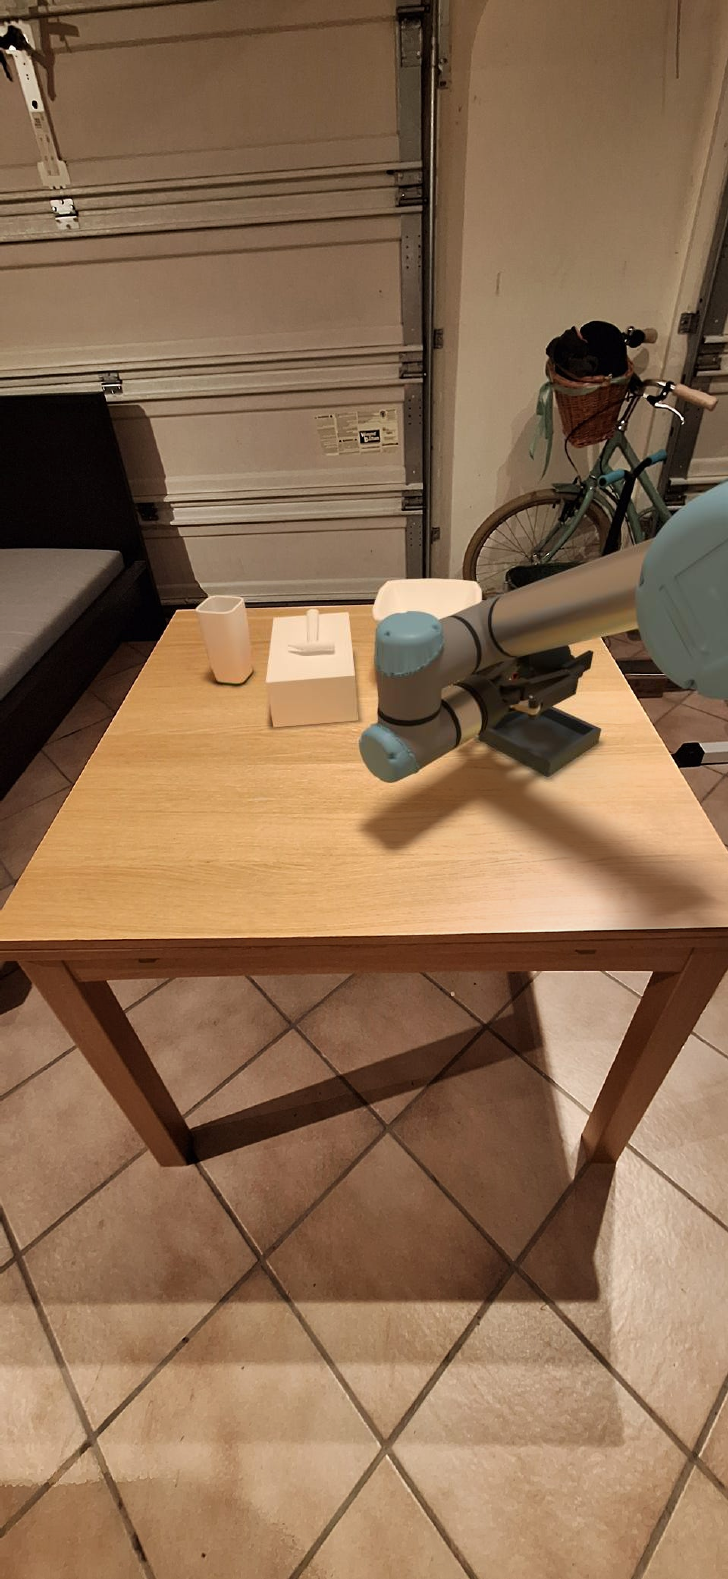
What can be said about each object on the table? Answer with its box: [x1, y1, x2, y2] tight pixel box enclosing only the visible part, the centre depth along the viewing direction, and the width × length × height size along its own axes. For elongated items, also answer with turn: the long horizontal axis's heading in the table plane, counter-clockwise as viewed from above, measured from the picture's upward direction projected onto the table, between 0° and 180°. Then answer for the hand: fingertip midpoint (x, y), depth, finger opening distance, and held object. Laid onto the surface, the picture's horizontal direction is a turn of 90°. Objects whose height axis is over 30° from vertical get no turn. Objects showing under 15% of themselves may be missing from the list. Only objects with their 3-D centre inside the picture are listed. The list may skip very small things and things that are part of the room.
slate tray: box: [478, 706, 602, 778], centre depth 99 cm, size 14×13×3 cm
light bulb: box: [529, 645, 572, 677], centre depth 92 cm, size 6×6×10 cm
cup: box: [195, 595, 253, 685], centre depth 117 cm, size 7×7×15 cm
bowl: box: [371, 578, 483, 627], centre depth 115 cm, size 19×19×14 cm
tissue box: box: [265, 608, 359, 728], centre depth 114 cm, size 14×25×11 cm, turn 3°
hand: (570, 651), depth 94 cm, fingers closed on light bulb, 6 cm apart
